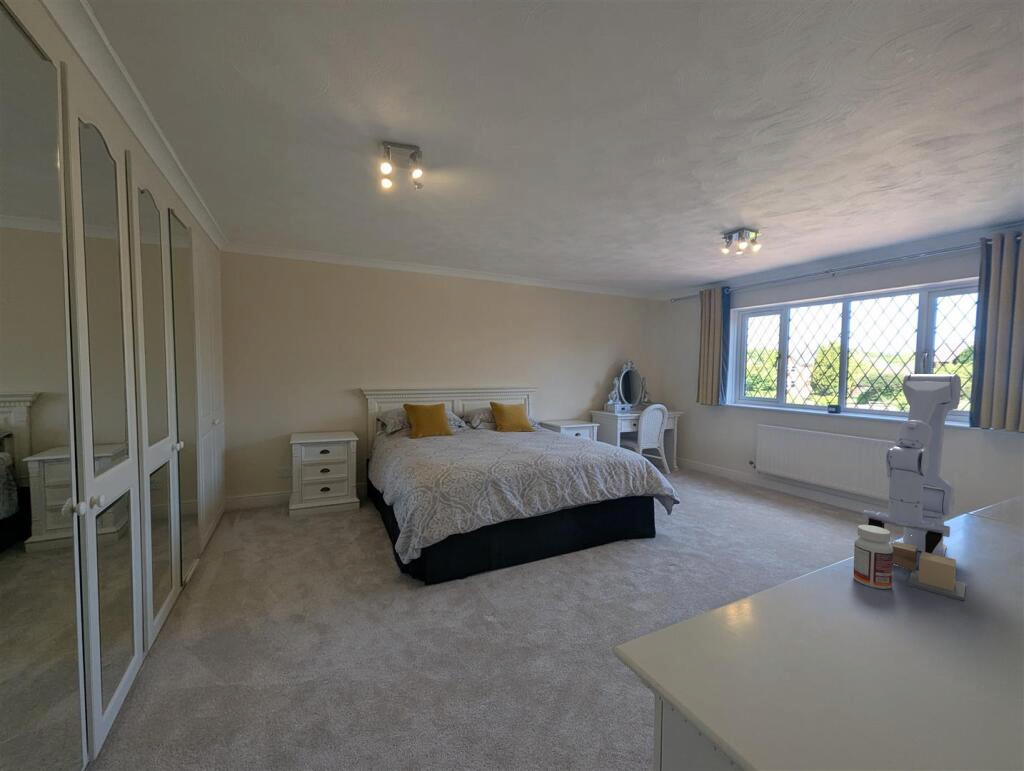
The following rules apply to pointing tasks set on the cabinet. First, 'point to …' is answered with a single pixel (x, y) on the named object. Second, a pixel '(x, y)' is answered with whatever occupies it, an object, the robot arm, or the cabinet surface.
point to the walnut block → (904, 555)
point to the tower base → (936, 589)
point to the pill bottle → (873, 557)
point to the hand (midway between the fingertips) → (902, 558)
